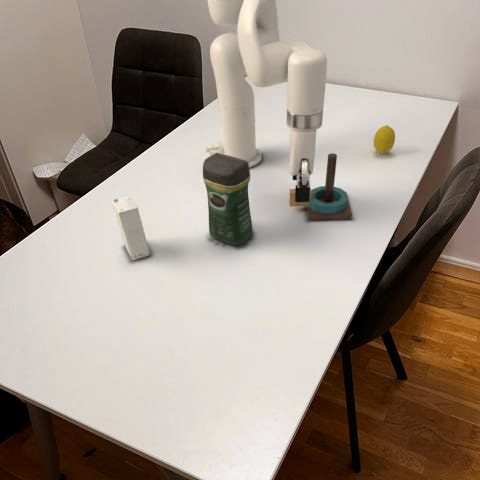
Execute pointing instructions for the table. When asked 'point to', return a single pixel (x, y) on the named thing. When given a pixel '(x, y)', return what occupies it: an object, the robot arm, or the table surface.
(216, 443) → the table surface
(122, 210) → the cosmetic box
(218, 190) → the coffee jar
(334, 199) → the peg stand
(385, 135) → the lemon
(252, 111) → the robot arm
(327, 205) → the ring
